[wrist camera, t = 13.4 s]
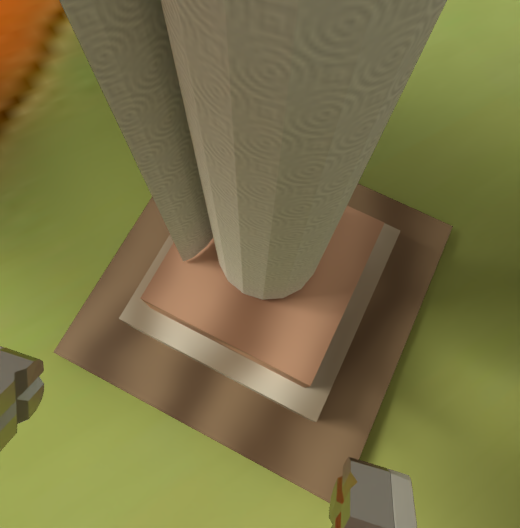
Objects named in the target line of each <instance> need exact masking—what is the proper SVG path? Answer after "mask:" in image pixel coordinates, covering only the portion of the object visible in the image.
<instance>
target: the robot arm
mask: <svg viewBox="0 0 520 528" xmlns="http://www.w3.org/2000/svg"><path fill="white" fill-rule="evenodd" d="M43 371H44V368H43V361H41V360H40V359H37V358H34V357H31V356H28V355H25V354H22V353H20V352H17V351H14V350H11V349H8V348H4V347H1V346H0V451H1V450H2V449H3V448H4V447H5V446H6V445H7V443H8V442H9V441H10V440H11V439H12V438H13V437H14V435H15V434H16V433H17V424H18V423H20V422H23V421H25V420H28V419H29V418H30V417H31V416H32V415H33V413H34V412H35V411H36V410H37V408H38V406H39V404H40V402H41V400H42V396H43V392H44V383H43V382H42V380H41V379H40V377H39V376H40V374H41V373H42V372H43ZM329 519H330V520H331V522H332V524H333V525H332V527H331V528H417V521H416V514H415V506H414V498H413V490H412V483H411V478H410V477H409V475H406V474H403V473H400V472H397V471H393V470H390V469H387V468H384V467H381V466H378V465H374V464H371V463H368V462H364V461H361V460H358V459H355V458H351V457H348V458H347V459H346V461H345V463H344V465H343V476H341V477H339V478H337V480H336V483H335V485H334V488H333V492H332V495H331V500H330V507H329Z"/></svg>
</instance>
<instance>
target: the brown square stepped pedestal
mask: <svg viewBox="0 0 520 528" xmlns="http://www.w3.org/2000/svg"><path fill="white" fill-rule="evenodd" d="M452 227H453V226H451V225H449V224H446V223H444V222H442V221H440V220H438V219H435V218H433V217H431V216H429V215H427V214H424V213H422V212H420V211H418V210H415V209H413V208H411V207H409V206H407V205H404V204H402V203H400V202H398V201H396V200H393V199H391V198H389V197H387V196H385V195H382V194H380V193H378V192H376V191H373V190H371V189H369V188H367V187H365V186H362V185H360V184H357V186H356V188H355V190H354V192H353V194H352V196H351V198H350V200H349V202H348V204H347V207H346V209H345V211H344V213H343V215H342V217H341V219H340V221H339V223H338V225H337V227H336V229H335V231H334V233H333V235H332V237H331V239H330V241H329V243H328V246H327V248H326V250H325V252H324V254H323V256H322V258H321V260H320V262H319V264H318V266H317V268H316V270H315V272H314V274H313V275H312V277H311V278H310V279H309V280H308V281H307V283H306V284H305V285H304V286H303V287H302V289H300V290H298V291H296V292H294V293H292V294H290V295H288V296H286V297H284V298H279V299H266V300H262V299H259V298H256V297H252V296H249V295H246V294H243V293H242V292H241V291H240V290H238V289H237V288H236V287H235V286H234V285H232V284H231V283H230V282H229V281H228V280H227V278H226V276H225V274H224V272H223V270H222V268H221V266H220V264H219V260H218V256H217V251H216V247H215V243H214V238H213V239H212V240H211V241H210V242H209V244H208V245H207V246H206V247H205V248H204V249H203V250H202V251H200V252H199V253H198V254H197V255H196V256H194V257H193V258H191V259H188V260H186V261H184V262H183V260H182V258H181V256H180V254H179V252H178V250H177V248H176V245H175V243H174V241H173V239H172V237H171V235H170V233H169V231H168V229H167V226H166V224H165V222H164V220H163V218H162V216H161V214H160V212H159V210H158V207H157V205H156V203H155V201H154V199H153V197H152V198H151V199H150V201H149V203H148V204H147V206H146V207H145V209H144V210H143V212H142V214H141V215H140V217H139V218H138V220H137V222H136V223H135V225H134V226H133V228H132V229H131V231H130V233H129V234H128V236H127V237H126V239H125V240H124V242H123V244H122V245H121V247H120V248H119V250H118V251H117V253H116V255H115V256H114V258H113V259H112V261H111V262H110V264H109V266H108V267H107V269H106V270H105V272H104V273H103V275H102V277H101V278H100V280H99V281H98V283H97V284H96V286H95V288H94V289H93V291H92V292H91V294H90V295H89V297H88V299H87V300H86V302H85V303H84V305H83V306H82V308H81V310H80V311H79V313H78V314H77V316H76V317H75V319H74V321H73V322H72V324H71V325H70V327H69V328H68V330H67V332H66V333H65V335H64V336H63V338H62V339H61V341H60V343H59V344H58V346H57V347H56V349H55V350H54V353H56V354H58V355H59V356H61V357H63V358H65V359H67V360H69V361H70V362H72V363H74V364H76V365H78V366H80V367H81V368H83V369H85V370H87V371H89V372H91V373H92V374H94V375H96V376H98V377H100V378H102V379H103V380H105V381H107V382H109V383H111V384H113V385H114V386H116V387H118V388H120V389H122V390H124V391H125V392H127V393H129V394H131V395H133V396H135V397H136V398H138V399H140V400H142V401H144V402H146V403H147V404H149V405H151V406H153V407H155V408H157V409H158V410H160V411H162V412H164V413H166V414H168V415H169V416H171V417H173V418H175V419H177V420H179V421H180V422H182V423H184V424H186V425H188V426H190V427H191V428H193V429H195V430H197V431H199V432H201V433H202V434H204V435H206V436H208V437H210V438H212V439H213V440H215V441H217V442H219V443H221V444H223V445H224V446H226V447H228V448H230V449H232V450H234V451H235V452H237V453H239V454H241V455H243V456H245V457H246V458H248V459H250V460H252V461H254V462H256V463H257V464H259V465H261V466H263V467H265V468H267V469H268V470H270V471H272V472H274V473H276V474H278V475H279V476H281V477H283V478H285V479H287V480H289V481H290V482H292V483H294V484H296V485H298V486H300V487H301V488H303V489H305V490H307V491H309V492H311V493H312V494H314V495H316V496H318V497H320V498H322V499H323V500H325V501H327V502H329V503H330V500H331V495H332V492H333V488H334V485H335V483H336V480H337V478H339V477H341V476H343V465H344V463H345V461H346V459H347V458H348V457H351V458H355V459H358V460H359V458H360V455H361V453H362V450H363V448H364V445H365V443H366V441H367V438H368V436H369V433H370V431H371V428H372V426H373V423H374V421H375V418H376V416H377V413H378V411H379V408H380V406H381V403H382V401H383V398H384V396H385V393H386V391H387V388H388V386H389V384H390V381H391V379H392V376H393V374H394V371H395V369H396V366H397V364H398V361H399V359H400V356H401V354H402V351H403V349H404V346H405V344H406V341H407V339H408V336H409V334H410V331H411V329H412V327H413V324H414V322H415V319H416V317H417V314H418V312H419V309H420V307H421V304H422V302H423V299H424V297H425V294H426V292H427V289H428V287H429V284H430V282H431V279H432V277H433V274H434V272H435V270H436V267H437V265H438V262H439V260H440V257H441V255H442V252H443V250H444V247H445V245H446V242H447V240H448V237H449V235H450V232H451V230H452Z"/></svg>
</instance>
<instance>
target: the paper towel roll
mask: <svg viewBox="0 0 520 528" xmlns="http://www.w3.org/2000/svg"><path fill="white" fill-rule="evenodd" d="M446 1H447V0H60V2H61V5H62V7H63V9H64V11H65V13H66V15H67V17H68V19H69V21H70V24H71V26H72V28H73V30H74V32H75V34H76V36H77V38H78V40H79V43H80V45H81V47H82V49H83V51H84V53H85V55H86V57H87V59H88V62H89V64H90V66H91V68H92V70H93V72H94V74H95V76H96V78H97V81H98V83H99V85H100V87H101V89H102V91H103V93H104V95H105V97H106V100H107V102H108V104H109V106H110V108H111V110H112V112H113V114H114V117H115V119H116V121H117V123H118V125H119V127H120V129H121V131H122V133H123V136H124V138H125V140H126V142H127V144H128V146H129V148H130V150H131V152H132V155H133V157H134V159H135V161H136V163H137V165H138V167H139V169H140V171H141V174H142V176H143V178H144V180H145V182H146V184H147V186H148V188H149V190H150V193H151V195H152V197H153V199H154V201H155V203H156V205H157V207H158V210H159V212H160V214H161V216H162V218H163V220H164V222H165V224H166V226H167V229H168V231H169V233H170V235H171V237H172V239H173V241H174V243H175V245H176V248H177V250H178V252H179V254H180V256H181V258H182V260H183V262H184V261H186V260H188V259H191V258H193V257H194V256H196V255H197V254H198V253H199V252H200V251H202V250H203V249H204V248H205V247H206V246H207V245H208V244H209V242H210V241H211V240H212V239H213V238H214V243H215V247H216V251H217V256H218V260H219V264H220V266H221V268H222V270H223V272H224V274H225V276H226V278H227V280H228V281H229V282H230V283H231V284H232V285H234V286H235V287H236V288H237V289H238V290H240V291H241V292H242V293H243V294H246V295H249V296H252V297H256V298H259V299H262V300H266V299H279V298H284V297H286V296H288V295H290V294H292V293H294V292H296V291H298V290H300V289H302V287H303V286H304V285H305V284H306V283H307V281H308V280H309V279H310V278H311V277H312V275H313V274H314V272H315V270H316V268H317V266H318V264H319V262H320V260H321V258H322V256H323V254H324V252H325V250H326V248H327V246H328V243H329V241H330V239H331V237H332V235H333V233H334V231H335V229H336V227H337V225H338V223H339V221H340V219H341V217H342V215H343V213H344V211H345V209H346V207H347V204H348V202H349V200H350V198H351V196H352V194H353V192H354V190H355V188H356V186H357V184H358V182H359V180H360V178H361V176H362V174H363V172H364V170H365V168H366V165H367V163H368V161H369V159H370V157H371V155H372V153H373V151H374V149H375V147H376V145H377V143H378V141H379V139H380V137H381V135H382V133H383V131H384V129H385V126H386V124H387V122H388V120H389V118H390V116H391V114H392V112H393V110H394V108H395V106H396V104H397V102H398V100H399V98H400V96H401V94H402V92H403V90H404V87H405V85H406V83H407V81H408V79H409V77H410V75H411V73H412V71H413V69H414V67H415V65H416V63H417V61H418V59H419V57H420V55H421V53H422V51H423V48H424V46H425V44H426V42H427V40H428V38H429V36H430V34H431V32H432V30H433V28H434V26H435V24H436V22H437V20H438V18H439V16H440V14H441V12H442V9H443V7H444V5H445V3H446Z"/></svg>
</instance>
